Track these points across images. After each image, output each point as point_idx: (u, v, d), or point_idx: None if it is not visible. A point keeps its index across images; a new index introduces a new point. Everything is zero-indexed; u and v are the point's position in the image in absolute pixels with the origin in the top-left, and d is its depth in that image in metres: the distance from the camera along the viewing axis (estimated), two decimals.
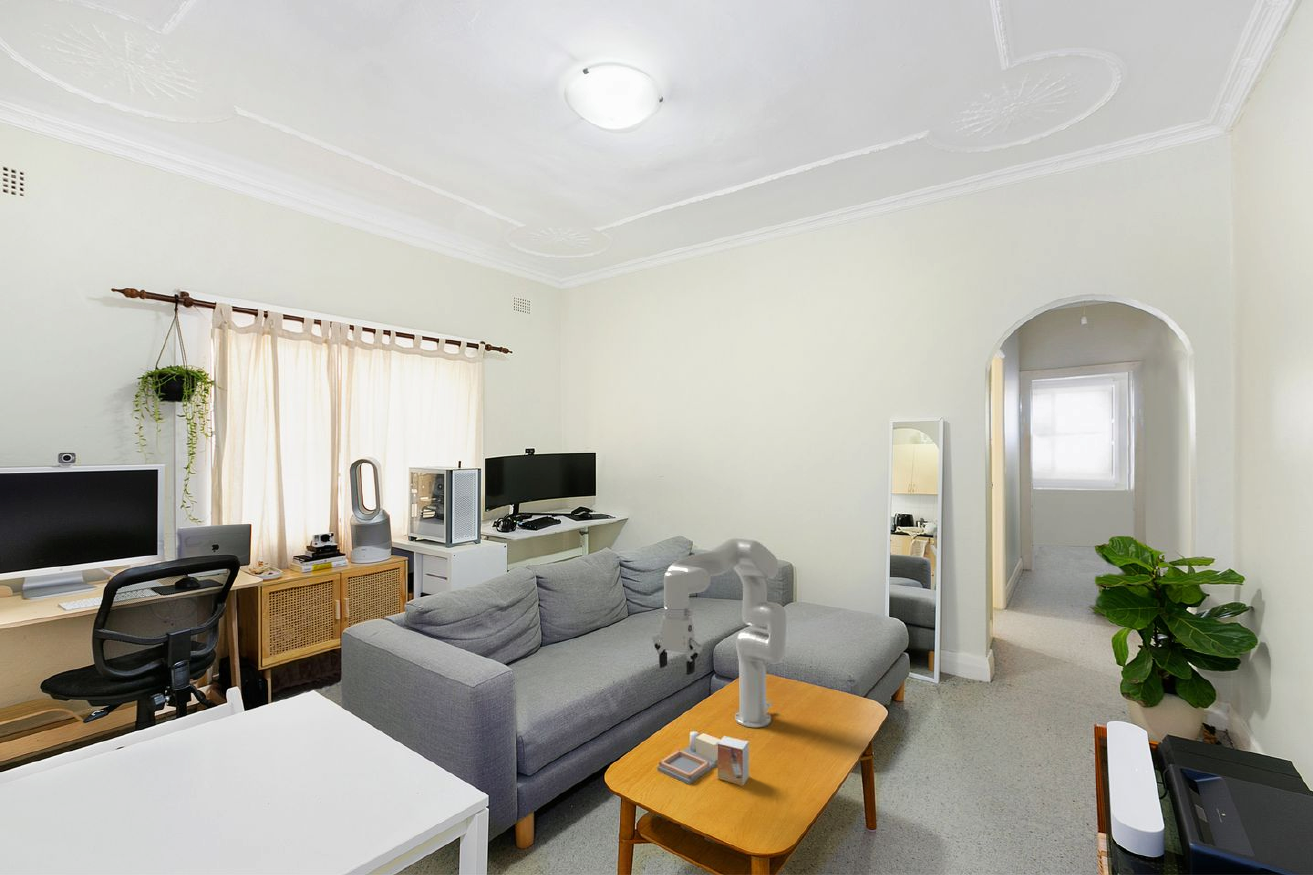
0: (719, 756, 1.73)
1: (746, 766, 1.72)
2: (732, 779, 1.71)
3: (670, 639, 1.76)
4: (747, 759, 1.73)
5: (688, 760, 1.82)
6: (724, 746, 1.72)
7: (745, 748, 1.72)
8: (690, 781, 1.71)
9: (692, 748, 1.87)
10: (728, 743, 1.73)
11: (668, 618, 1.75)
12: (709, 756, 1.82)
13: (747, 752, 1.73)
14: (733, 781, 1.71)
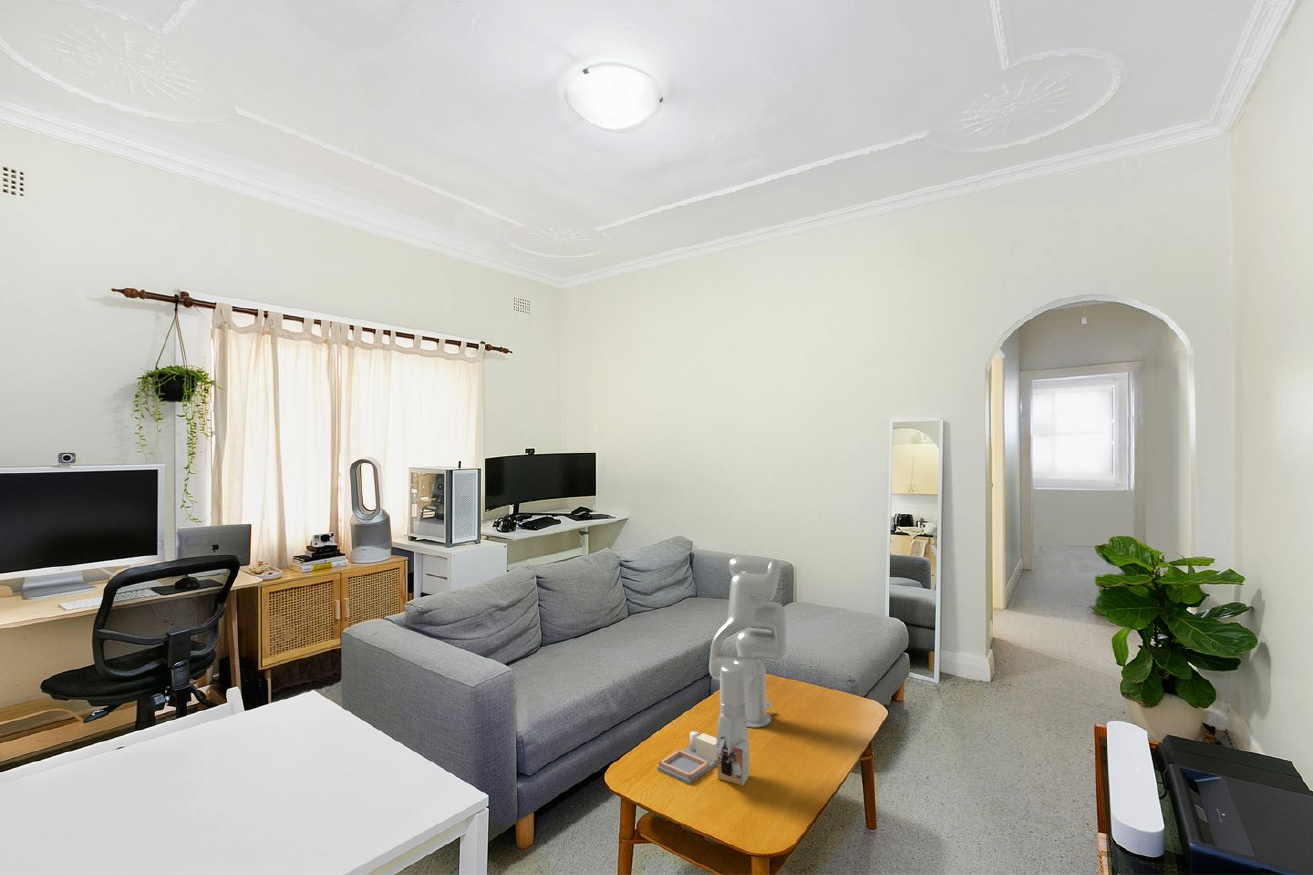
0: None
1: (746, 766, 1.72)
2: (732, 779, 1.71)
3: (738, 736, 1.72)
4: (747, 759, 1.73)
5: (688, 760, 1.82)
6: None
7: (745, 748, 1.72)
8: (690, 781, 1.71)
9: (692, 748, 1.87)
10: None
11: (742, 715, 1.71)
12: (709, 756, 1.82)
13: (747, 751, 1.73)
14: (733, 781, 1.71)
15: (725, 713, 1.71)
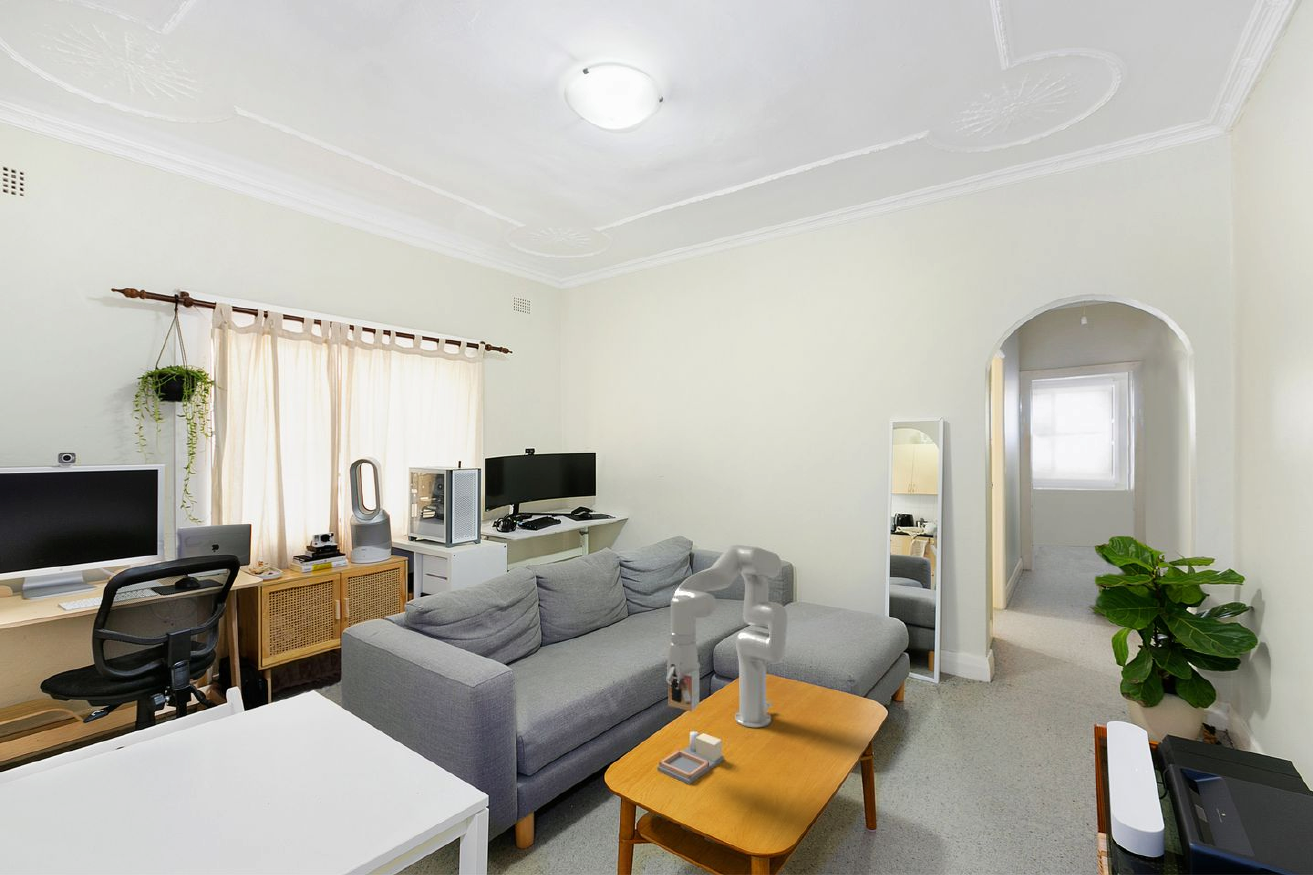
0: None
1: (695, 693, 1.77)
2: (682, 705, 1.76)
3: (688, 665, 1.77)
4: (697, 687, 1.78)
5: (688, 760, 1.82)
6: None
7: (695, 676, 1.77)
8: (690, 781, 1.71)
9: (692, 748, 1.87)
10: None
11: (692, 643, 1.77)
12: (709, 756, 1.82)
13: (697, 679, 1.78)
14: (683, 707, 1.76)
15: (675, 642, 1.77)
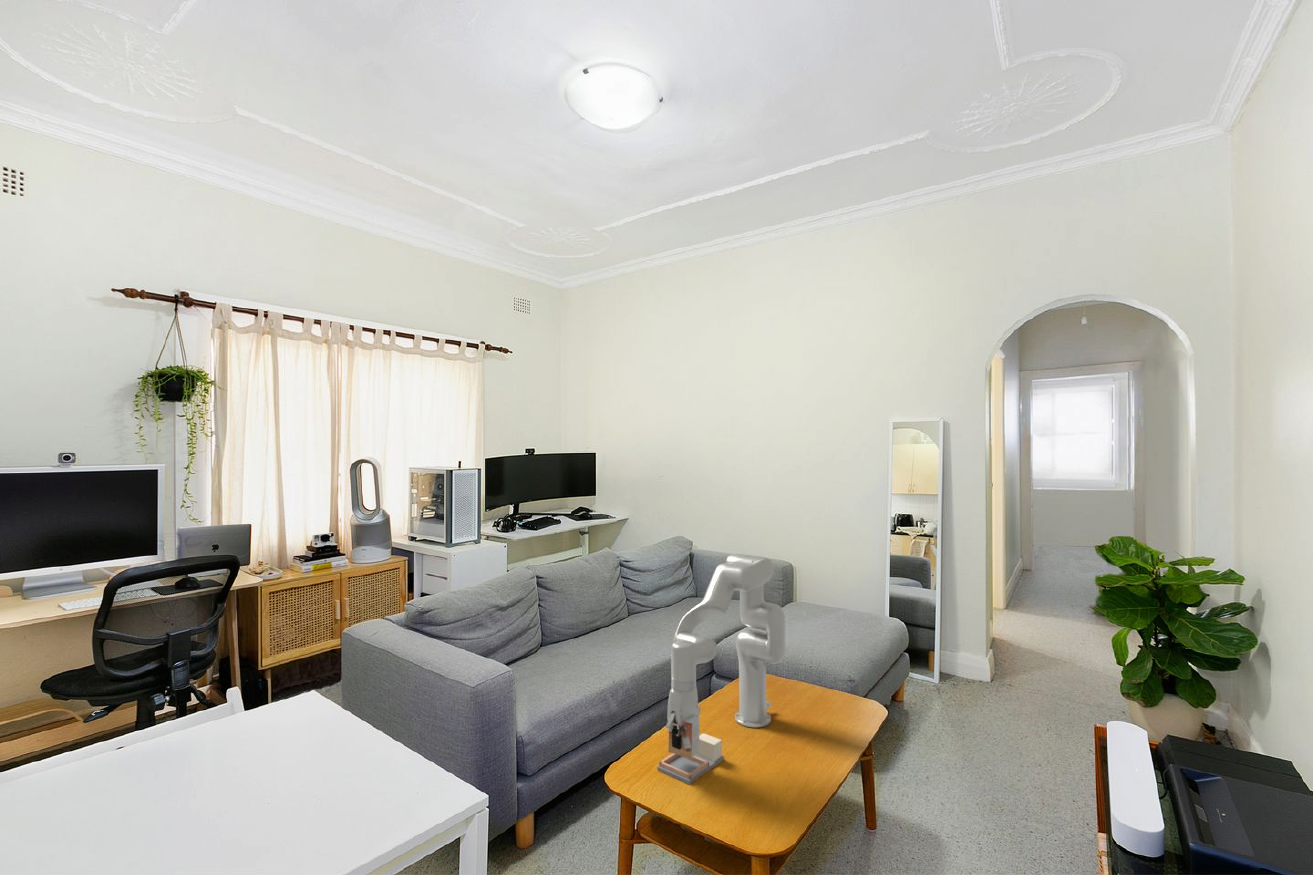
0: None
1: (695, 740, 1.77)
2: (682, 752, 1.76)
3: (689, 711, 1.77)
4: (697, 733, 1.78)
5: (688, 760, 1.82)
6: (675, 721, 1.77)
7: (695, 722, 1.77)
8: (690, 781, 1.71)
9: None
10: None
11: (692, 690, 1.76)
12: (709, 756, 1.82)
13: (697, 726, 1.78)
14: (683, 754, 1.76)
15: (675, 688, 1.76)
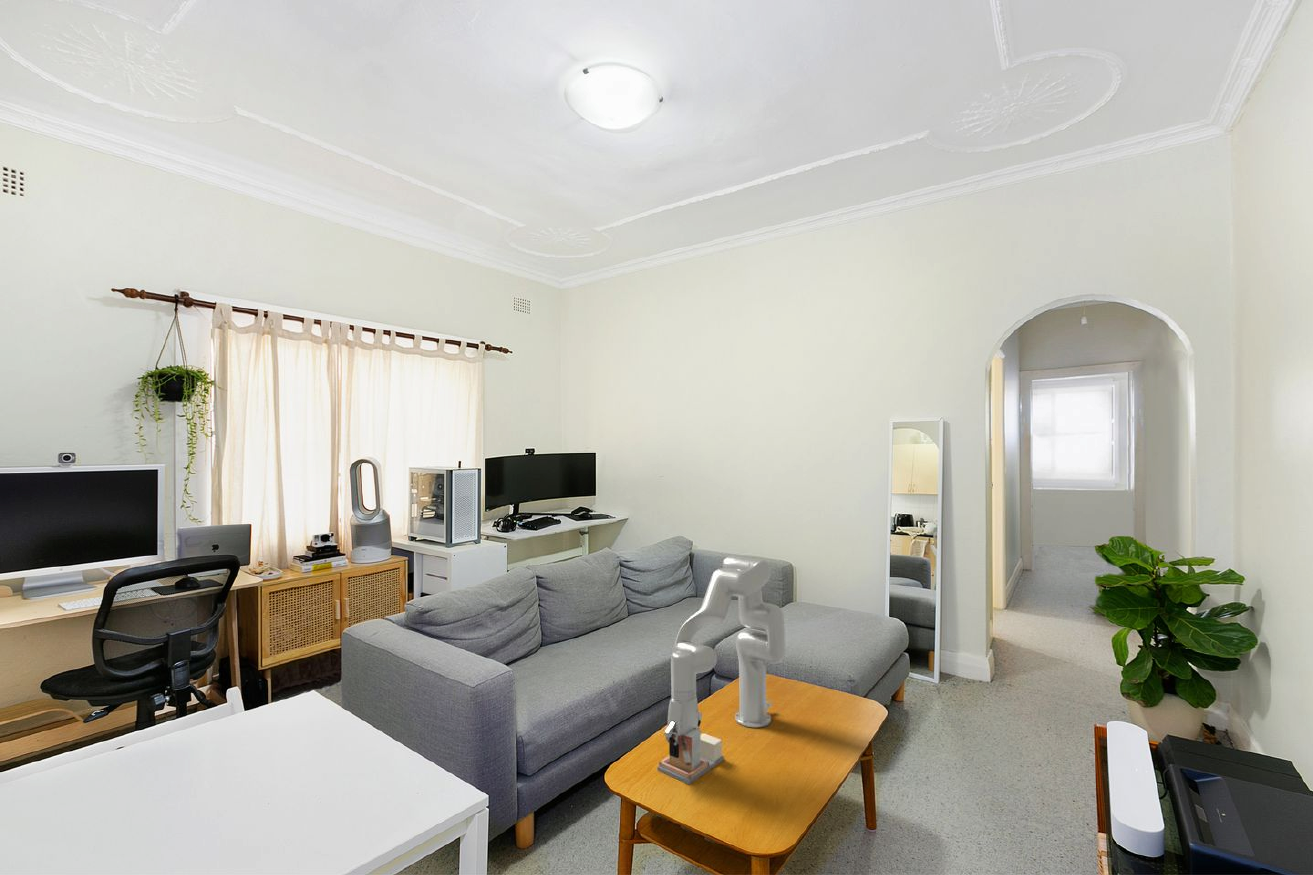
0: None
1: (696, 754, 1.77)
2: (683, 766, 1.76)
3: (689, 720, 1.77)
4: (697, 747, 1.78)
5: None
6: None
7: (695, 736, 1.77)
8: (690, 781, 1.71)
9: None
10: None
11: (692, 699, 1.76)
12: (709, 756, 1.82)
13: (698, 740, 1.78)
14: (683, 768, 1.76)
15: (675, 698, 1.76)
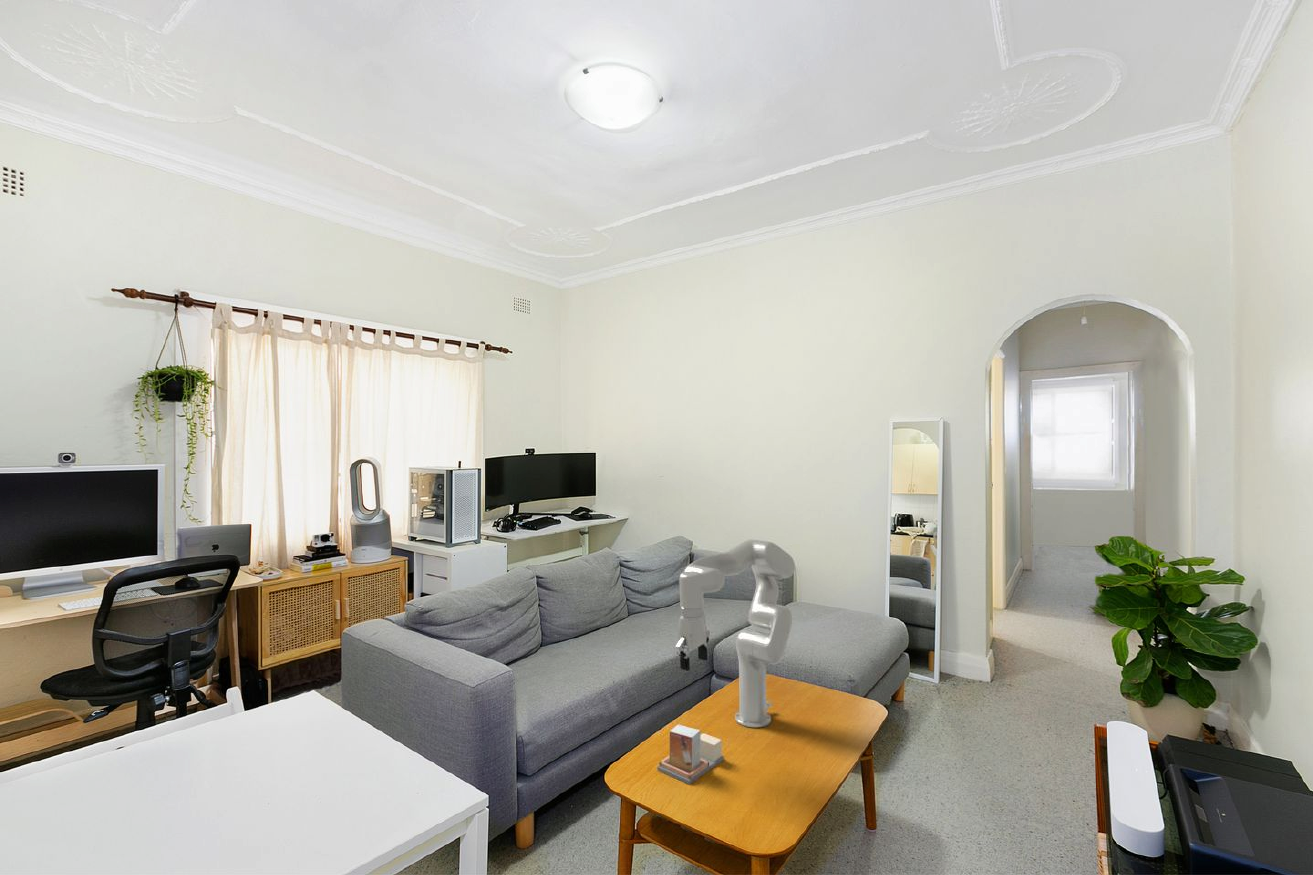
0: (671, 743, 1.78)
1: (696, 754, 1.77)
2: (683, 766, 1.76)
3: (698, 636, 1.87)
4: (697, 747, 1.78)
5: None
6: (675, 734, 1.78)
7: (695, 736, 1.77)
8: (690, 781, 1.71)
9: None
10: (680, 731, 1.79)
11: (701, 616, 1.86)
12: (709, 756, 1.82)
13: (698, 740, 1.78)
14: (683, 768, 1.76)
15: (685, 615, 1.86)
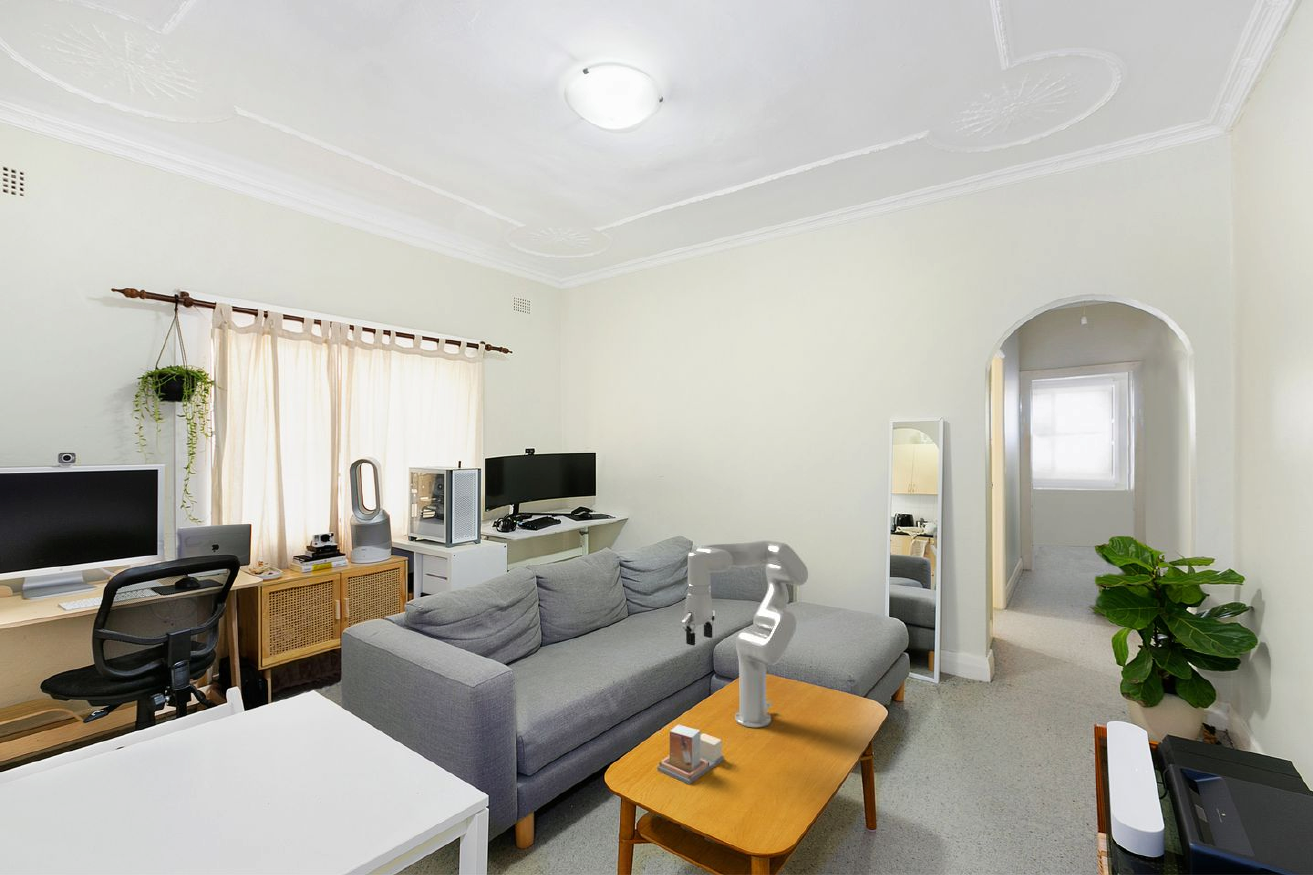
0: (671, 743, 1.78)
1: (696, 754, 1.77)
2: (683, 766, 1.76)
3: (704, 613, 1.94)
4: (697, 747, 1.78)
5: None
6: (675, 734, 1.78)
7: (695, 736, 1.77)
8: (690, 781, 1.71)
9: None
10: (680, 731, 1.79)
11: (707, 593, 1.93)
12: (709, 756, 1.82)
13: (698, 740, 1.78)
14: (683, 768, 1.76)
15: (692, 592, 1.93)
